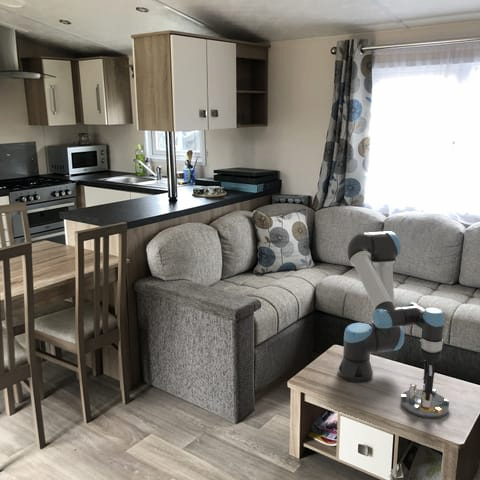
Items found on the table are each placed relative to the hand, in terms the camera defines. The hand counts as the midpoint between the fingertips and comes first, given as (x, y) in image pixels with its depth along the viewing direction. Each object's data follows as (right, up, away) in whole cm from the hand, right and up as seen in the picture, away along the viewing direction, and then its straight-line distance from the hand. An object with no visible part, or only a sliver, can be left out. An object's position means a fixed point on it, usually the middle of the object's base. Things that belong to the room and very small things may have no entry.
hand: (426, 403), depth 197 cm
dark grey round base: (+1, -3, +6) cm, 6 cm away
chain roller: (0, -1, 0) cm, 1 cm away
